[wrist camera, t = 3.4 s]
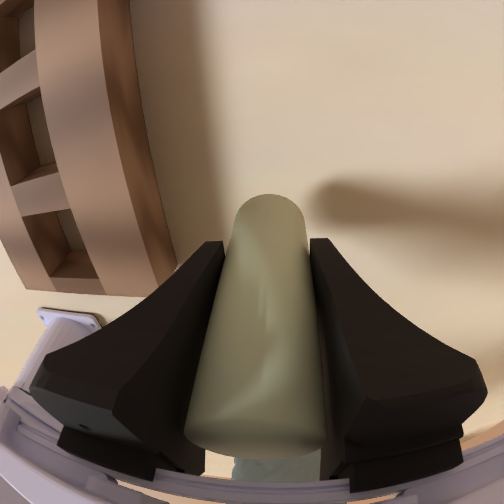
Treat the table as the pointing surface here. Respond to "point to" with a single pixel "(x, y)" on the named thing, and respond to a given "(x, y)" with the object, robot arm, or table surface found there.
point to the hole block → (79, 154)
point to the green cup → (279, 469)
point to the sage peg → (262, 343)
